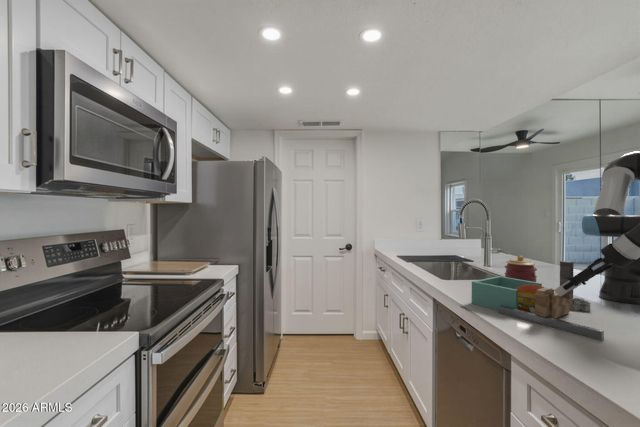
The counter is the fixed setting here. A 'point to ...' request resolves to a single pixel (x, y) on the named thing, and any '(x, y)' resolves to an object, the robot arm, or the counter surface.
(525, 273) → the canister
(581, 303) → the egg carton
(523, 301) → the burger
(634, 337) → the counter surface
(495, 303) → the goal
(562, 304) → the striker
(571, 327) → the rail
